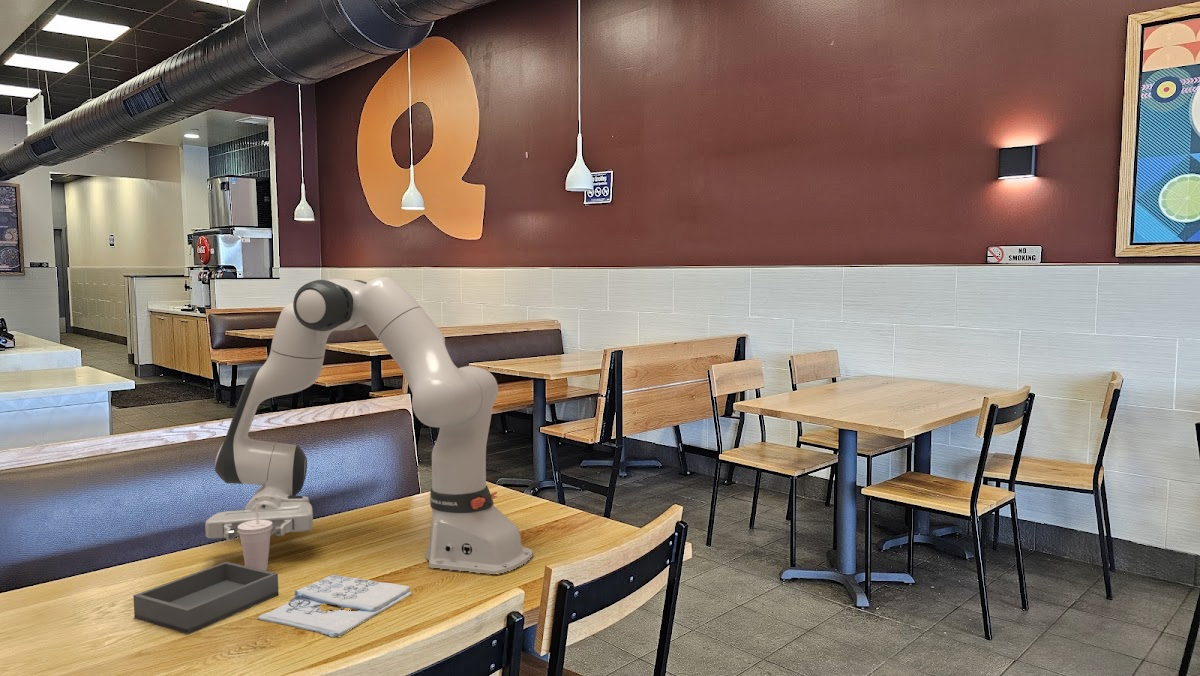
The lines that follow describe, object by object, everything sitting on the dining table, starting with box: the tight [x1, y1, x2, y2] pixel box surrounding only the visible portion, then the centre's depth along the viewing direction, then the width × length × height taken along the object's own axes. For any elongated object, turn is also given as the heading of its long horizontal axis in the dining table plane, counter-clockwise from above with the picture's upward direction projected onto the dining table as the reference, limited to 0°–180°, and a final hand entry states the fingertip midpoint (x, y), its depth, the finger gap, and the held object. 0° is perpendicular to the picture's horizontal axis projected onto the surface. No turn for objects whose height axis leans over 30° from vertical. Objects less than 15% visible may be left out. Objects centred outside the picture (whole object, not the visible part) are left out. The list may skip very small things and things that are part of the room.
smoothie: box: [237, 503, 273, 571], centre depth 154 cm, size 6×6×14 cm
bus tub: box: [132, 561, 280, 635], centre depth 139 cm, size 14×18×4 cm
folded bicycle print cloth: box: [257, 574, 413, 638], centre depth 139 cm, size 19×20×2 cm
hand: (254, 534), depth 153 cm, fingers open, 8 cm apart
